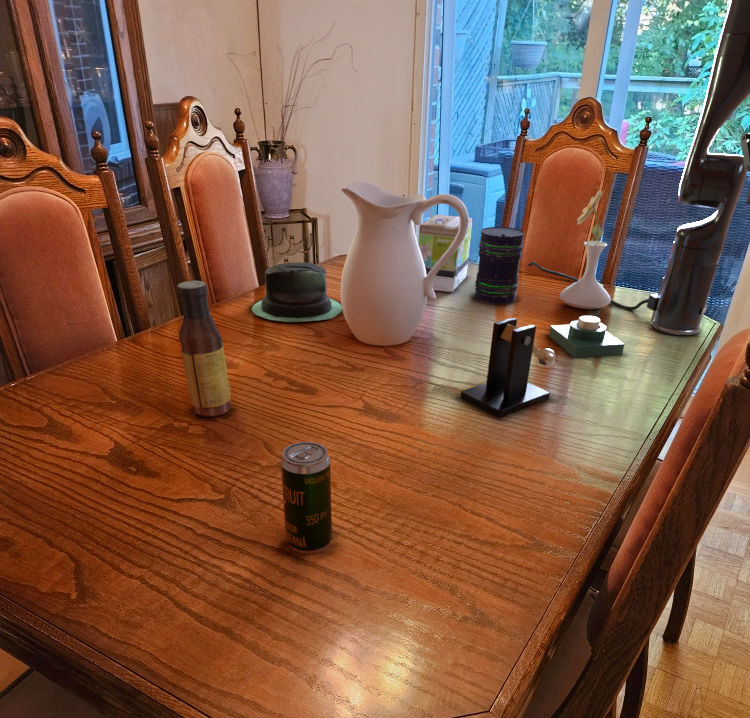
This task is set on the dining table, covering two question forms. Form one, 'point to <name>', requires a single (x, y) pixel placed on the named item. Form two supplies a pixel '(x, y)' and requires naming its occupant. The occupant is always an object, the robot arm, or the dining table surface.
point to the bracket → (507, 374)
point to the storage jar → (498, 265)
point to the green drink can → (307, 497)
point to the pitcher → (390, 264)
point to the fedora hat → (296, 294)
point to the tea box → (444, 250)
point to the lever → (543, 356)
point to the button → (588, 322)
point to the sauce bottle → (203, 353)
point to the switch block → (586, 340)
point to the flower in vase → (589, 269)
